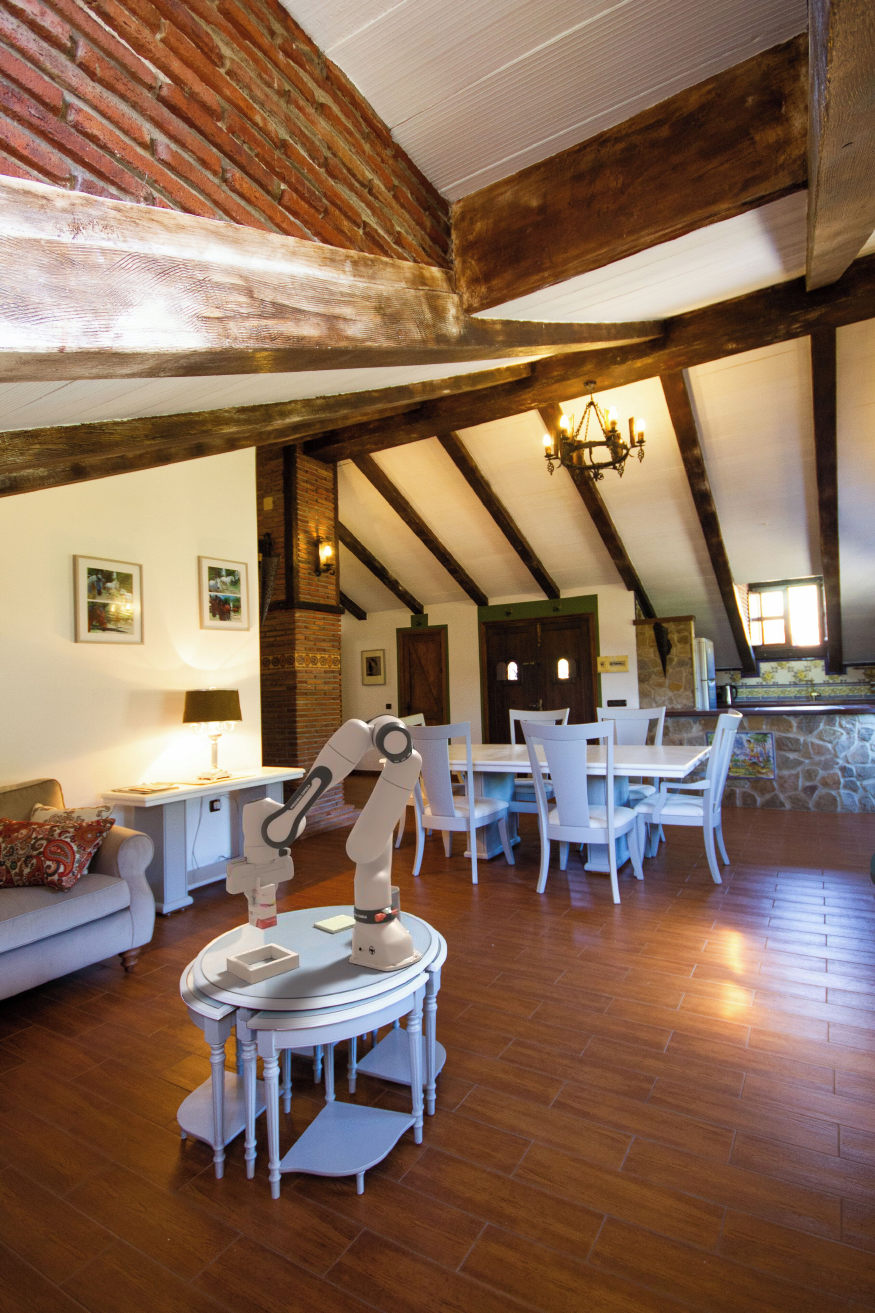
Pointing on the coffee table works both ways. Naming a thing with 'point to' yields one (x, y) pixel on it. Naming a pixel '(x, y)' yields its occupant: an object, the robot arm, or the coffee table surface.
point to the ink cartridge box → (263, 906)
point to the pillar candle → (396, 901)
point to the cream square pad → (336, 924)
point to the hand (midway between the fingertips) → (262, 902)
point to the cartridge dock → (252, 975)
